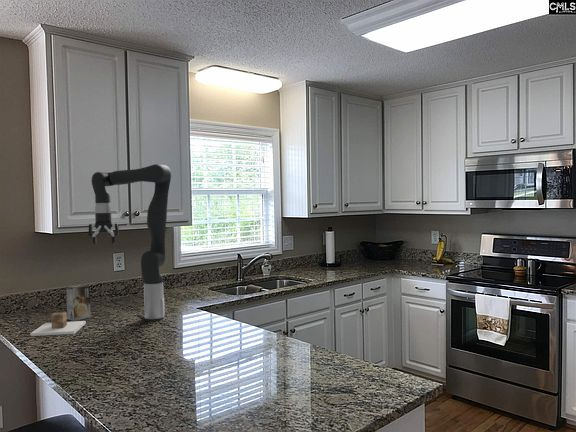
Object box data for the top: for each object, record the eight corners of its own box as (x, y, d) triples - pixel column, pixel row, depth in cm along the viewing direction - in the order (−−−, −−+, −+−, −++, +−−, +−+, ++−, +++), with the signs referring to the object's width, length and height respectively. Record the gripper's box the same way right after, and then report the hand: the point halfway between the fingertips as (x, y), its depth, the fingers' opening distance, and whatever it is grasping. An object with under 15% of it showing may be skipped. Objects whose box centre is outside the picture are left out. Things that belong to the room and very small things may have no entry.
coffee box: (84, 315, 243) (83, 284, 242) (91, 317, 239) (90, 285, 238) (66, 319, 236) (65, 287, 235) (73, 321, 232) (72, 288, 231)
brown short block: (66, 325, 220) (66, 312, 220) (63, 327, 215) (63, 314, 215) (55, 325, 219) (54, 312, 219) (51, 328, 214) (51, 315, 214)
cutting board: (85, 323, 227) (85, 320, 227) (74, 333, 209) (74, 331, 209) (45, 325, 225) (45, 322, 225) (30, 336, 207) (30, 333, 207)
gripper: (119, 211, 246) (120, 243, 246) (90, 212, 244) (91, 244, 244) (116, 211, 238) (117, 244, 239) (86, 212, 236) (87, 245, 237)
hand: (104, 244), depth 242 cm, fingers open, 8 cm apart
